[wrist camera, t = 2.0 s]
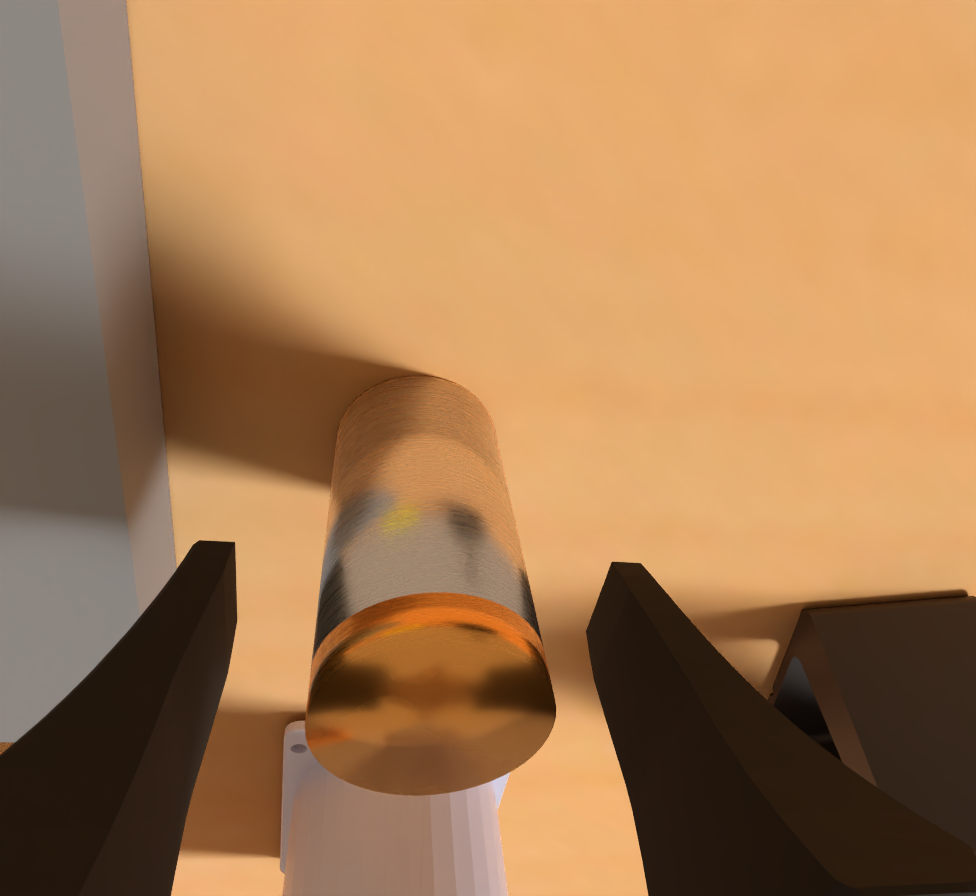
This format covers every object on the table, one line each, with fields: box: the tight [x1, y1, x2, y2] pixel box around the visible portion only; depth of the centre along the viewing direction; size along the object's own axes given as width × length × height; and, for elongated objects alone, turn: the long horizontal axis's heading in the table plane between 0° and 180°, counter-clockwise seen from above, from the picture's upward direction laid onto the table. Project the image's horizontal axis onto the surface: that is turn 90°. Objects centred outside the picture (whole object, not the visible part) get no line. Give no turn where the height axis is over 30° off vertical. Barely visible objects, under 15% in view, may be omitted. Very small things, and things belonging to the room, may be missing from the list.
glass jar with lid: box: [305, 376, 556, 796], centre depth 15 cm, size 4×4×8 cm
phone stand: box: [767, 596, 976, 853], centre depth 21 cm, size 9×6×12 cm, turn 178°
